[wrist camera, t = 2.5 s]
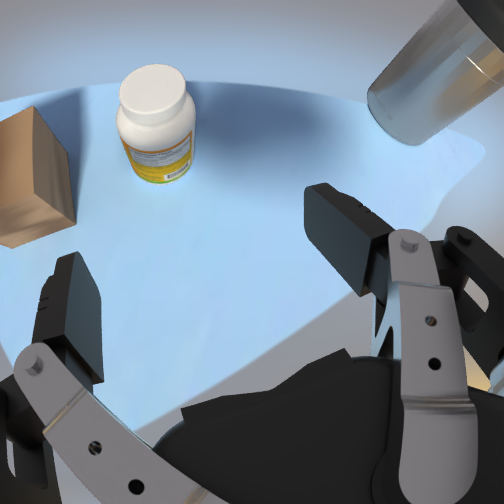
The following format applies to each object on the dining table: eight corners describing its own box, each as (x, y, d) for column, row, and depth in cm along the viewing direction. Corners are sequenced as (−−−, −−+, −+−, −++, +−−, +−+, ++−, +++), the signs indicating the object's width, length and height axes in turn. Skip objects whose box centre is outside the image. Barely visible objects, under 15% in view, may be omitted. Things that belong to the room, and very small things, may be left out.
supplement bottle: (143, 126, 25) (128, 52, 15) (200, 137, 25) (208, 62, 16) (123, 180, 24) (92, 117, 14) (184, 193, 24) (182, 131, 15)
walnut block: (67, 153, 23) (33, 105, 15) (76, 224, 22) (33, 193, 15) (7, 179, 21) (-37, 143, 14) (12, 248, 21) (-41, 229, 13)
